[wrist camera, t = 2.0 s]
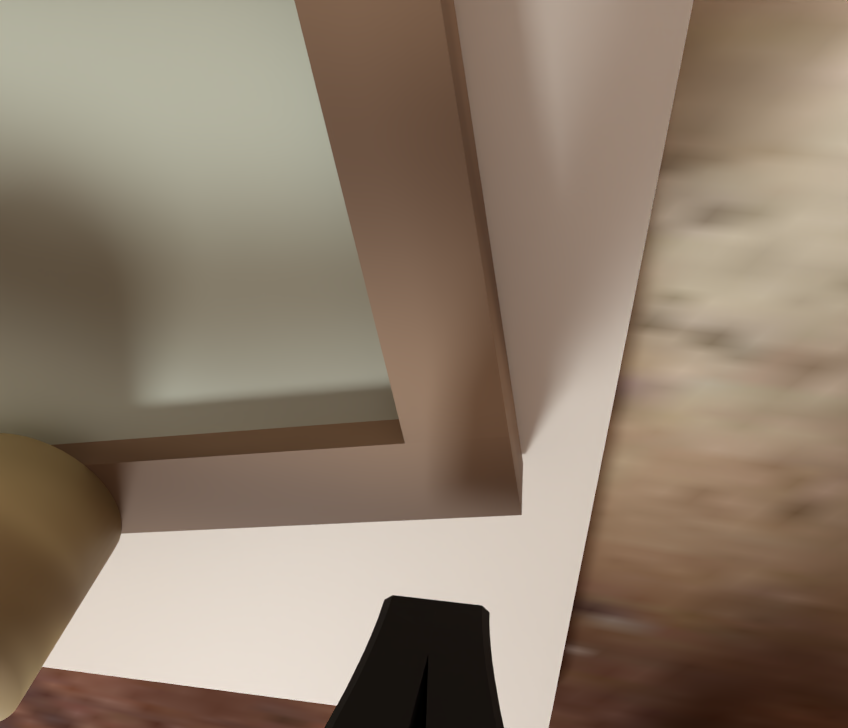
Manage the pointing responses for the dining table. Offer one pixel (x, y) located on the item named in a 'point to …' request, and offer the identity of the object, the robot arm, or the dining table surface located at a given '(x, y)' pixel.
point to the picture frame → (235, 285)
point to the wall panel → (531, 385)
